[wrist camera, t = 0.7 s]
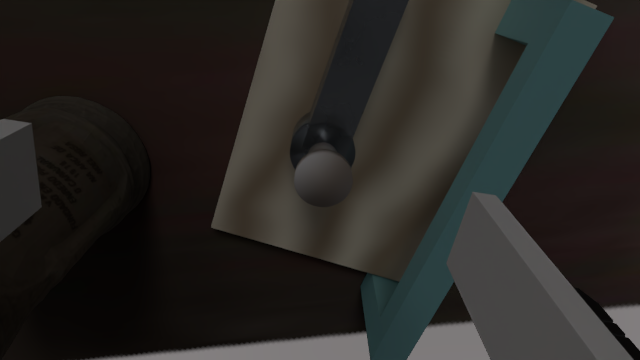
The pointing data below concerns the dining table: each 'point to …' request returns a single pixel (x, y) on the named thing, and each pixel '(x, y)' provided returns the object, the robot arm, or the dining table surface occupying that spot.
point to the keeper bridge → (487, 162)
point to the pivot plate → (365, 132)
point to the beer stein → (68, 199)
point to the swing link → (348, 77)
